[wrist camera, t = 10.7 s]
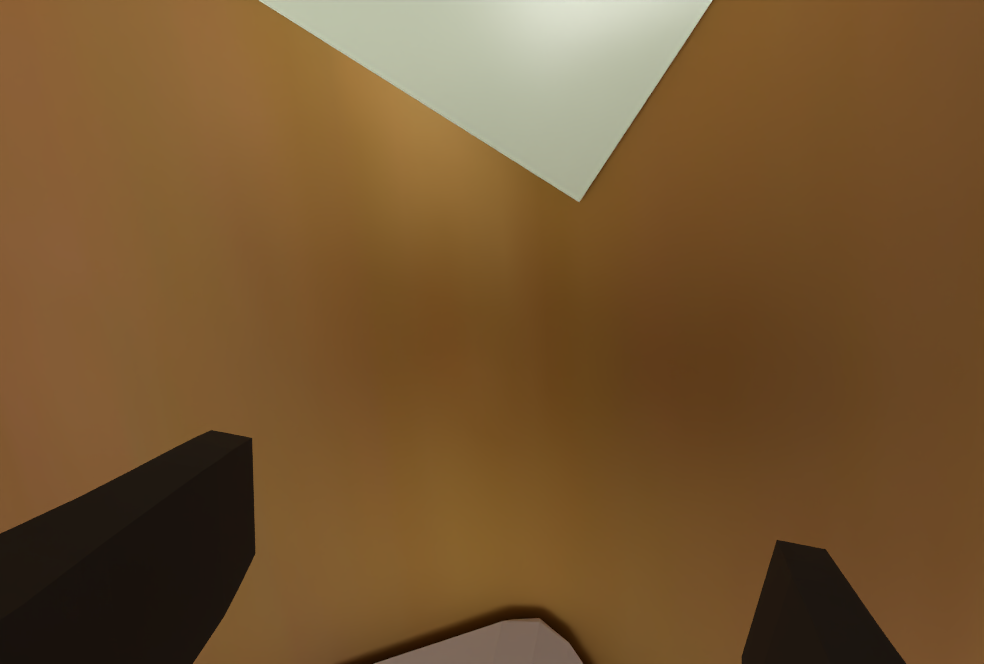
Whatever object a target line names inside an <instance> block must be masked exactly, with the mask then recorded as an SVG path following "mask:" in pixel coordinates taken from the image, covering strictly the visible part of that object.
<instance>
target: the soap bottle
mask: <svg viewBox="0 0 984 664" xmlns="http://www.w3.org/2000/svg"><path fill="white" fill-rule="evenodd" d="M374 664H583V663H582V661H581V660H580V658H579V657H578V655H577V654H576V652H575V651H574V649H573V648H572V646H571V645H570V643H569V642H568V641H566V640H565V639H564V638H563V637H561V636H560V635H559V634H558V633H557V632H555V631H554V630H553V629H552V628H551V627H549V626H548V625H547V624H546V623H545V622H543V621H542V620H541V619H540V618H531V619H511V620H506V621H501V622H498V623H495V624H492V625H489V626H486V627H483V628H480V629H477V630H474V631H471V632H468V633H465V634H462V635H459V636H456V637H453V638H450V639H447V640H444V641H441V642H438V643H435V644H432V645H429V646H426V647H423V648H420V649H417V650H414V651H411V652H407V653H404V654H401V655H398V656H395V657H392V658H389V659H386V660H383V661H380V662H377V663H374Z"/></svg>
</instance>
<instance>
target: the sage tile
mask: <svg viewBox="0 0 984 664" xmlns="http://www.w3.org/2000/svg"><path fill="white" fill-rule="evenodd" d="M259 1H261V2H262V3H264V4H266V5H267V6H269V7H270V8H272V9H273V10H275V11H277V12H278V13H280V14H281V15H283V16H285V17H286V18H288V19H289V20H291V21H292V22H294V23H296V24H297V25H299V26H300V27H302V28H304V29H305V30H307V31H308V32H310V33H312V34H313V35H315V36H316V37H318V38H319V39H321V40H323V41H324V42H326V43H327V44H329V45H331V46H332V47H334V48H335V49H337V50H339V51H340V52H342V53H343V54H345V55H346V56H348V57H350V58H351V59H353V60H354V61H356V62H358V63H359V64H361V65H362V66H364V67H365V68H367V69H369V70H370V71H372V72H373V73H375V74H377V75H378V76H380V77H381V78H383V79H385V80H386V81H388V82H389V83H391V84H392V85H394V86H396V87H397V88H399V89H400V90H402V91H404V92H405V93H407V94H408V95H410V96H412V97H413V98H415V99H416V100H418V101H419V102H421V103H423V104H424V105H426V106H427V107H429V108H431V109H432V110H434V111H435V112H437V113H438V114H440V115H442V116H443V117H445V118H446V119H448V120H450V121H451V122H453V123H454V124H456V125H458V126H459V127H461V128H462V129H464V130H465V131H467V132H469V133H470V134H472V135H473V136H475V137H477V138H478V139H480V140H481V141H483V142H484V143H486V144H488V145H489V146H491V147H492V148H494V149H496V150H497V151H499V152H500V153H502V154H504V155H505V156H507V157H508V158H510V159H511V160H513V161H515V162H516V163H518V164H519V165H521V166H523V167H524V168H526V169H527V170H529V171H531V172H532V173H534V174H535V175H537V176H538V177H540V178H542V179H543V180H545V181H546V182H548V183H550V184H551V185H553V186H554V187H556V188H557V189H559V190H561V191H562V192H564V193H565V194H567V195H569V196H570V197H572V198H573V199H575V200H577V201H578V202H580V200H581V199H582V197H583V196H584V194H585V193H586V191H587V190H588V188H589V187H590V185H591V184H592V182H593V181H594V179H595V178H596V176H597V174H598V173H599V171H600V170H601V168H602V167H603V165H604V164H605V162H606V161H607V159H608V158H609V156H610V155H611V153H612V152H613V150H614V149H615V147H616V146H617V144H618V143H619V141H620V140H621V138H622V137H623V135H624V134H625V132H626V131H627V129H628V128H629V126H630V125H631V123H632V121H633V120H634V118H635V117H636V115H637V114H638V112H639V111H640V109H641V108H642V106H643V105H644V103H645V102H646V100H647V99H648V97H649V96H650V94H651V93H652V91H653V90H654V88H655V87H656V85H657V84H658V82H659V81H660V79H661V78H662V76H663V75H664V73H665V72H666V70H667V68H668V67H669V65H670V64H671V62H672V61H673V59H674V58H675V56H676V55H677V53H678V52H679V50H680V49H681V47H682V46H683V44H684V43H685V41H686V40H687V38H688V37H689V35H690V34H691V32H692V31H693V29H694V28H695V26H696V25H697V23H698V22H699V20H700V19H701V17H702V15H703V14H704V12H705V11H706V9H707V8H708V6H709V5H710V3H711V2H712V0H259Z"/></svg>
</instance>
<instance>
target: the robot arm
mask: <svg viewBox="0 0 984 664" xmlns="http://www.w3.org/2000/svg"><path fill="white" fill-rule="evenodd" d="M254 555H255V524H254V490H253V455H252V438H249V437H244V436H239V435H234V434H228V433H223V432H218V431H213V430H211V431H209V432H206V433H204V434H202V435H200V436H197V437H195V438H193V439H191V440H189V441H187V442H185V443H183V444H181V445H179V446H177V447H175V448H173V449H172V450H170V451H168V452H166V453H164V454H162V455H160V456H158V457H156V458H154V459H152V460H150V461H149V462H147V463H145V464H143V465H141V466H139V467H137V468H135V469H133V470H131V471H129V472H127V473H125V474H124V475H122V476H120V477H118V478H116V479H114V480H112V481H110V482H108V483H106V484H104V485H102V486H100V487H98V488H96V489H94V490H92V491H90V492H88V493H86V494H84V495H82V496H80V497H78V498H76V499H74V500H72V501H70V502H68V503H66V504H63V505H61V506H59V507H57V508H55V509H53V510H51V511H48V512H46V513H44V514H42V515H40V516H38V517H36V518H33V519H31V520H29V521H27V522H25V523H23V524H20V525H18V526H16V527H14V528H12V529H10V530H8V531H5V532H3V533H1V534H0V664H193V662H194V661H195V659H196V658H197V656H198V655H199V653H200V652H201V650H202V649H203V647H204V646H205V644H206V643H207V641H208V640H209V638H210V637H211V635H212V634H213V632H214V631H215V629H216V628H217V626H218V625H219V623H220V622H221V620H222V619H223V617H224V615H225V614H226V612H227V610H228V608H229V606H230V604H231V602H232V600H233V598H234V596H235V594H236V592H237V590H238V588H239V586H240V584H241V582H242V580H243V578H244V576H245V574H246V572H247V570H248V568H249V566H250V563H251V561H252V559H253V557H254ZM742 664H906V663H905V661H904V660H903V659H902V657H901V656H900V655H899V653H898V652H897V651H896V649H895V648H894V647H893V645H892V644H891V642H890V641H889V640H888V638H887V637H886V635H885V634H884V633H883V631H882V630H881V628H880V627H879V626H878V624H877V623H876V621H875V620H874V618H873V617H872V616H871V614H870V613H869V611H868V610H867V608H866V607H865V606H864V604H863V603H862V601H861V600H860V598H859V597H858V595H857V594H856V593H855V591H854V590H853V588H852V587H851V585H850V584H849V582H848V581H847V579H846V578H845V577H844V575H843V574H842V572H841V571H840V569H839V568H838V566H837V565H836V564H835V562H834V561H833V559H832V558H831V556H830V555H829V554H828V552H827V551H826V549H821V548H815V547H810V546H805V545H800V544H795V543H790V542H785V541H779V540H777V542H776V545H775V548H774V552H773V555H772V558H771V561H770V565H769V568H768V571H767V575H766V578H765V581H764V585H763V588H762V591H761V595H760V598H759V601H758V605H757V608H756V611H755V615H754V618H753V621H752V624H751V628H750V631H749V634H748V638H747V641H746V644H745V648H744V651H743V654H742Z"/></svg>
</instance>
